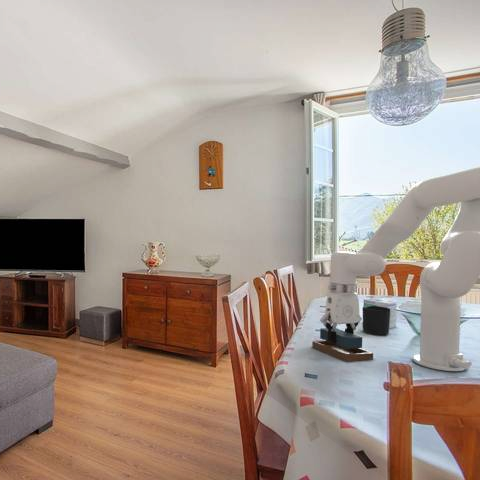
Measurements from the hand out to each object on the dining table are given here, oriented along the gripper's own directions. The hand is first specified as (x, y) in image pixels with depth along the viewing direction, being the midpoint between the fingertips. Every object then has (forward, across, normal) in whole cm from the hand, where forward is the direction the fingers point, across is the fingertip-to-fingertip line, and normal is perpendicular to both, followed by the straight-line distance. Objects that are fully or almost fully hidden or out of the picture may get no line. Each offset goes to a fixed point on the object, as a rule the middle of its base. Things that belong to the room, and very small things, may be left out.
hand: (340, 341), depth 135 cm
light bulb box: (+4, +45, +29) cm, 54 cm away
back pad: (+1, 0, 0) cm, 1 cm away
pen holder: (+4, +33, +19) cm, 38 cm away
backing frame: (+4, 0, 0) cm, 4 cm away
